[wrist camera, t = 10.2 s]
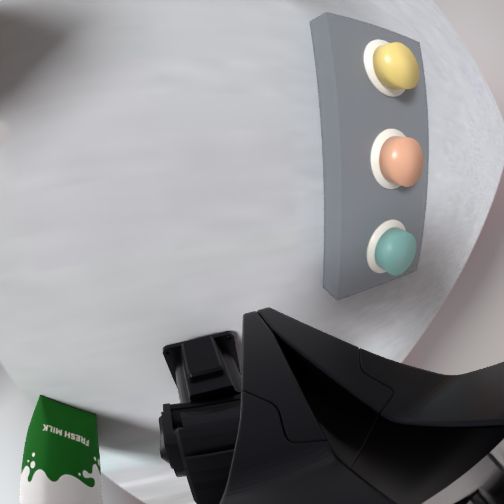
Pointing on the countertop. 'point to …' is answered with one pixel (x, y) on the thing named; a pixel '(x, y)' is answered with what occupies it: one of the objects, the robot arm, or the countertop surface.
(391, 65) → the mustard button
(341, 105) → the button console
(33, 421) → the milk carton
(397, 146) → the terracotta button
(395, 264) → the teal button
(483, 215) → the countertop surface
